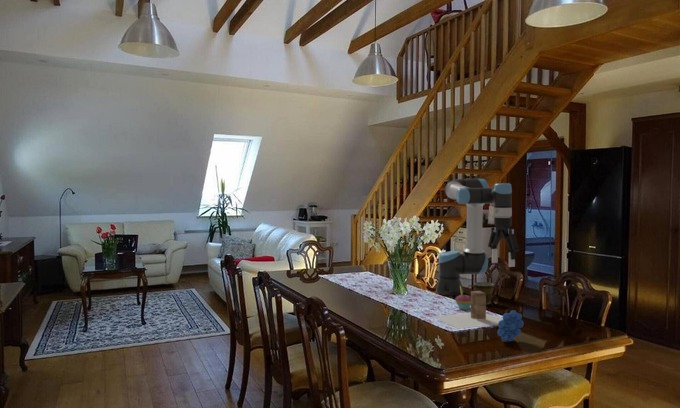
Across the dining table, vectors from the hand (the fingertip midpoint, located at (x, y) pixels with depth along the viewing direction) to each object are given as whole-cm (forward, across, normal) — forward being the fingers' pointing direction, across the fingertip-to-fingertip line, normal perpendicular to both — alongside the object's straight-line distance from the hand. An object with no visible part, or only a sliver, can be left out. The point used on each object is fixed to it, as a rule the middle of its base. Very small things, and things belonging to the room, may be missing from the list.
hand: (503, 264), depth 219 cm
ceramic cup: (+24, -27, +7) cm, 37 cm away
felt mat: (+24, 0, -17) cm, 30 cm away
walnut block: (+24, 0, -13) cm, 27 cm away
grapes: (+24, +29, -19) cm, 43 cm away
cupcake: (+24, -19, -8) cm, 32 cm away
